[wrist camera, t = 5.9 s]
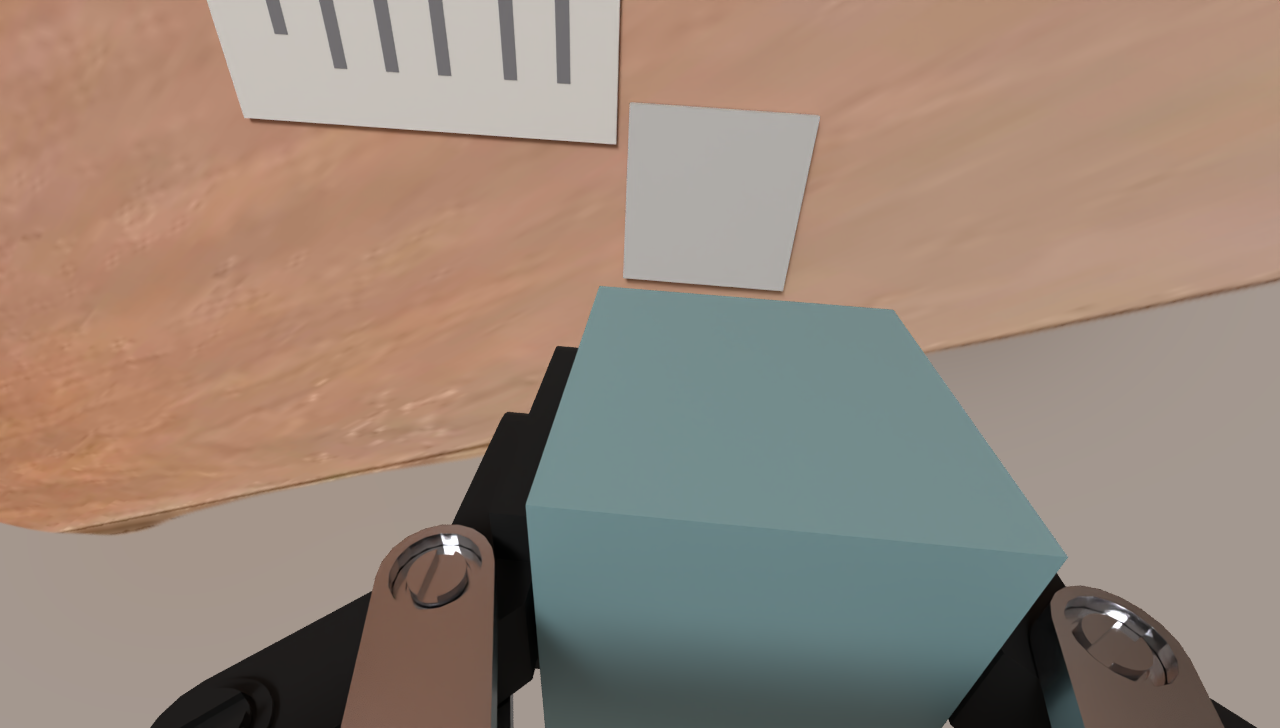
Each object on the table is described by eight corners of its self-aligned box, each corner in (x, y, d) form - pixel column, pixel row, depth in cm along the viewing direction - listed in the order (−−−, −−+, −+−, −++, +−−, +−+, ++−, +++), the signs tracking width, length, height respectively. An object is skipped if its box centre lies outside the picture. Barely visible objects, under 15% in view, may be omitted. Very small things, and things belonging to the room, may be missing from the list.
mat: (818, 115, 20) (820, 116, 20) (781, 287, 24) (782, 291, 24) (630, 102, 20) (629, 103, 20) (624, 274, 24) (623, 278, 24)
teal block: (893, 310, 9) (1067, 557, 5) (823, 514, 12) (898, 786, 8) (599, 286, 9) (525, 504, 5) (596, 492, 12) (546, 747, 8)
